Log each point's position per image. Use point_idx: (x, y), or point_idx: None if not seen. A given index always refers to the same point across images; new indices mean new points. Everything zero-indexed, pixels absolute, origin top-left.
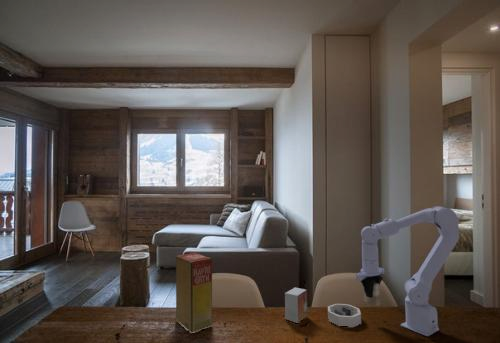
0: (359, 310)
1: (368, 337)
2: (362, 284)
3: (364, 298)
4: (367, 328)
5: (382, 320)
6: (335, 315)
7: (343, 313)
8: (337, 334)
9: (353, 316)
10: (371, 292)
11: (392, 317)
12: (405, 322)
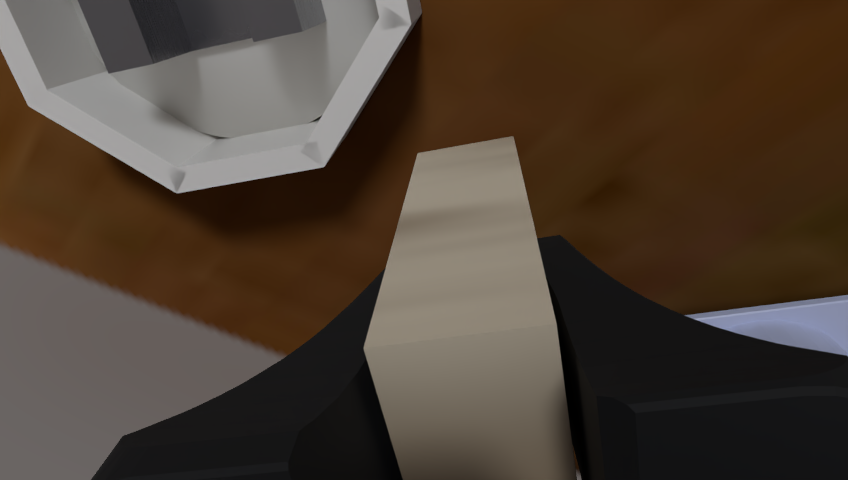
0: (370, 83)
1: (249, 330)
2: (267, 375)
3: (414, 176)
4: (340, 226)
5: (605, 167)
6: (10, 54)
7: (118, 70)
8: (26, 197)
9: (197, 183)
10: None
11: (767, 161)
12: (729, 320)
